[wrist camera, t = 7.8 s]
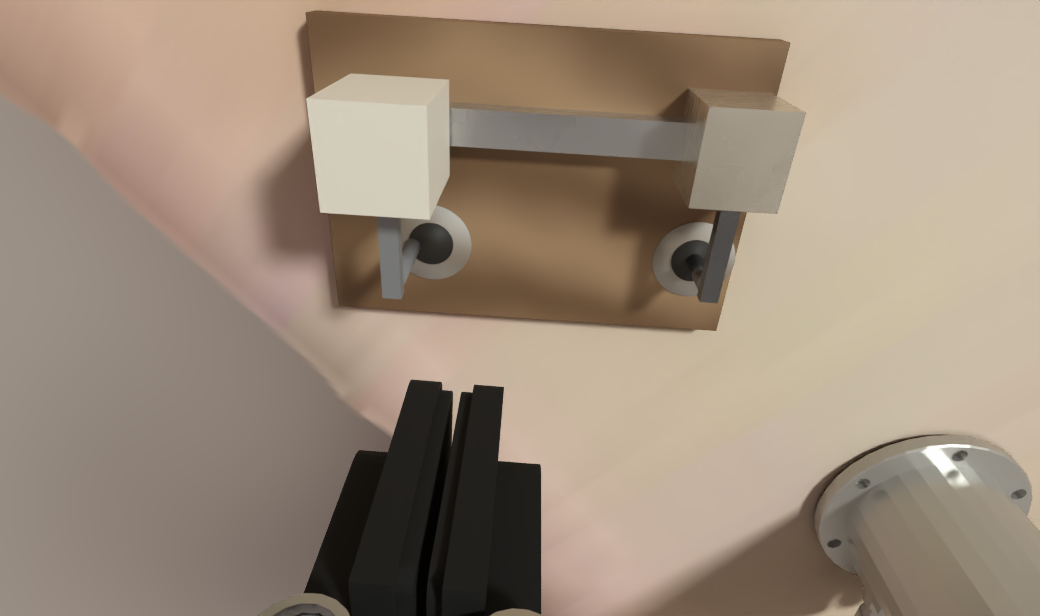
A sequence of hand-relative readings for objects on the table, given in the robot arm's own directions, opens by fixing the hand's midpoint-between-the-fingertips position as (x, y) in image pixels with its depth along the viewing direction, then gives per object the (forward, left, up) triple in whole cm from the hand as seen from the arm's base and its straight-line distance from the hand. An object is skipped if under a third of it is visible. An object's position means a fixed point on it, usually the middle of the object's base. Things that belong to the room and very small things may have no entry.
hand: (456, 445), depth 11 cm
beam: (-1, -2, -19) cm, 19 cm away
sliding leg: (-1, +5, -18) cm, 19 cm away
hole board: (-2, -1, -20) cm, 20 cm away
